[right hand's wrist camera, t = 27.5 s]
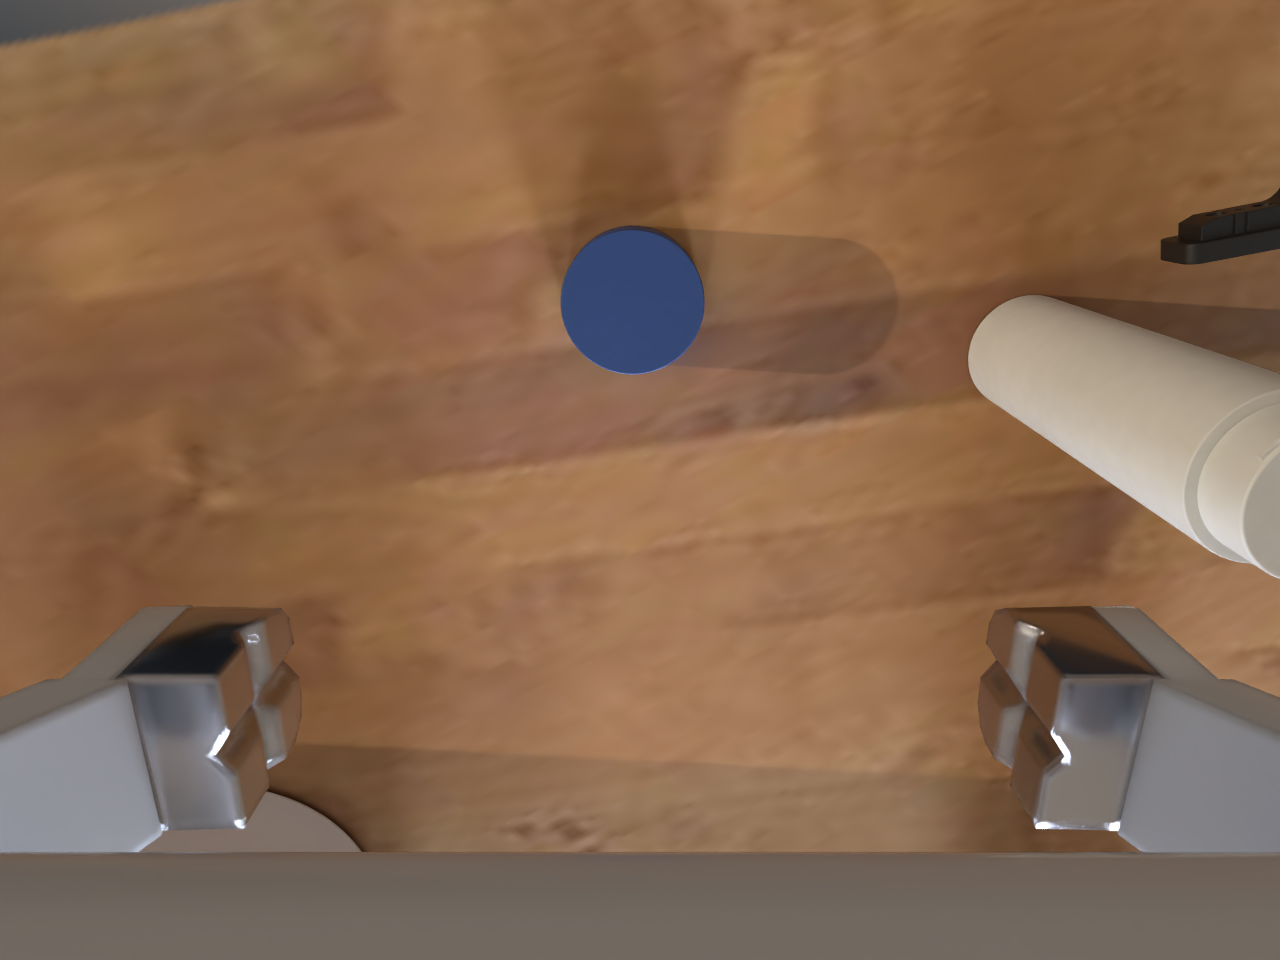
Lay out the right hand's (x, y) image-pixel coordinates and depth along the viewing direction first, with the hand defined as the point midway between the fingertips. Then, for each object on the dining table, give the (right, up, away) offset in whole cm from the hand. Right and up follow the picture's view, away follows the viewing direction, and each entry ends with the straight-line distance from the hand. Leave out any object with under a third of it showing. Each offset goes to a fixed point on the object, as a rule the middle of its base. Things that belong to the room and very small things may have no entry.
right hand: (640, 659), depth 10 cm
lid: (0, +9, +26) cm, 27 cm away
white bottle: (+17, +8, +28) cm, 34 cm away
